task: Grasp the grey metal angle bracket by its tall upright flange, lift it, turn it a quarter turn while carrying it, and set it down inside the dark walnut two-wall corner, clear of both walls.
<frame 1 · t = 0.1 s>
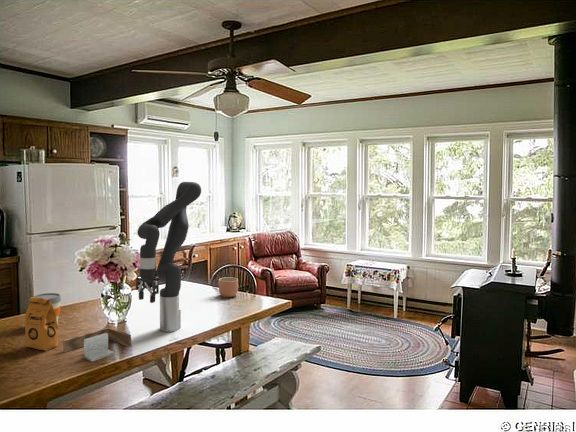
hand: (146, 301, 209), 17 cm above the table, tool pointing down, fingers open, 8 cm apart
reusable coffee cup: (47, 325, 223), on the table
coffee package: (42, 347, 195), on the table
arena: (94, 353, 189), on the table
mounting bracket: (88, 336, 210), on the table
angle bracket: (99, 356, 187), on the table
planter: (228, 296, 286), on the table
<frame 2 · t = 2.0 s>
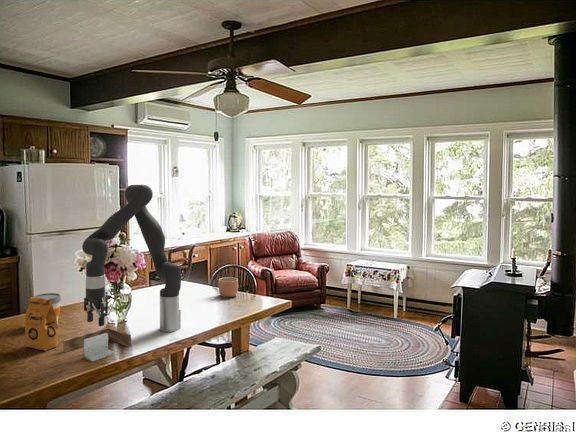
hand: (95, 323, 187), 13 cm above the table, tool pointing down, fingers open, 8 cm apart
nothing on the table moved.
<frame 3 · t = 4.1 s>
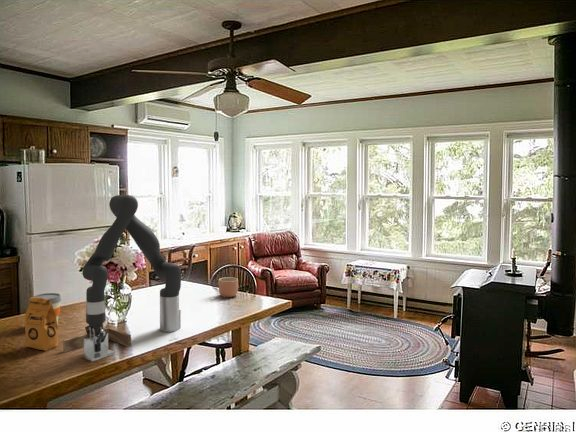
hand: (96, 351, 188), 2 cm above the table, tool pointing down, fingers closed on angle bracket
angle bracket: (99, 355, 187), on the table, touching gripper
everything else where it was.
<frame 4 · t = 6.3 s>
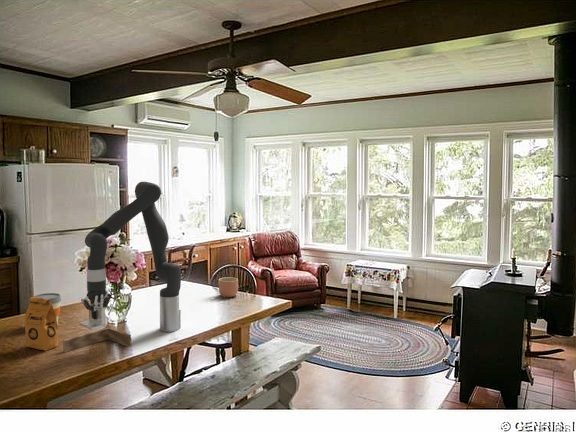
hand: (97, 318, 192), 14 cm above the table, tool pointing down, fingers closed on angle bracket
angle bracket: (92, 325, 191), point 11 cm above the table, touching gripper
everything else where it was.
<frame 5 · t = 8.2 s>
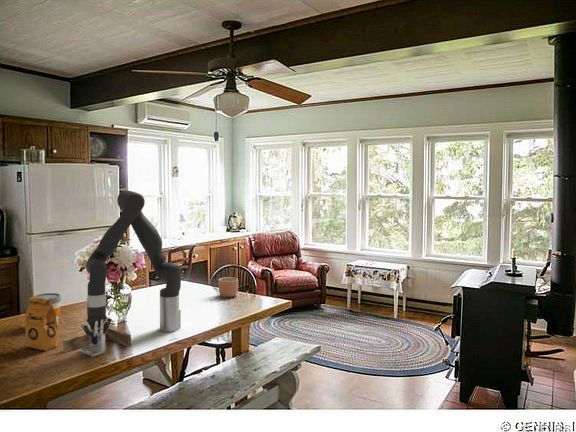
hand: (97, 343, 193), 3 cm above the table, tool pointing down, fingers closed on angle bracket
angle bracket: (92, 351, 191), on the table, touching gripper
everything else where it was.
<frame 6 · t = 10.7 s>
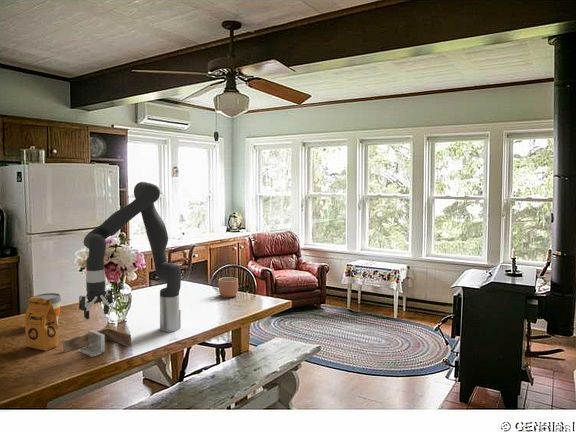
hand: (96, 316, 192), 15 cm above the table, tool pointing down, fingers open, 8 cm apart
angle bracket: (91, 352, 191), on the table
everything else where it was.
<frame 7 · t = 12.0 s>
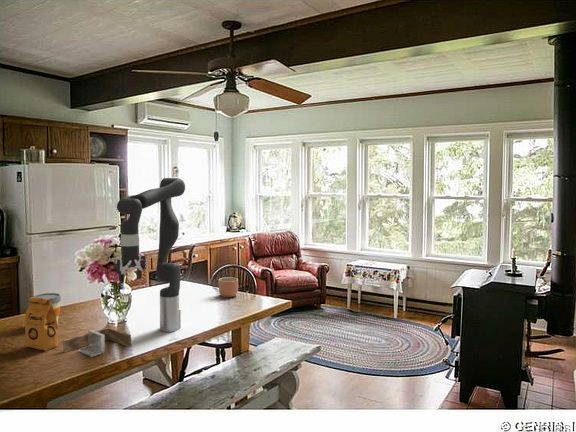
hand: (130, 280, 195), 30 cm above the table, tool pointing down, fingers open, 8 cm apart
nothing on the table moved.
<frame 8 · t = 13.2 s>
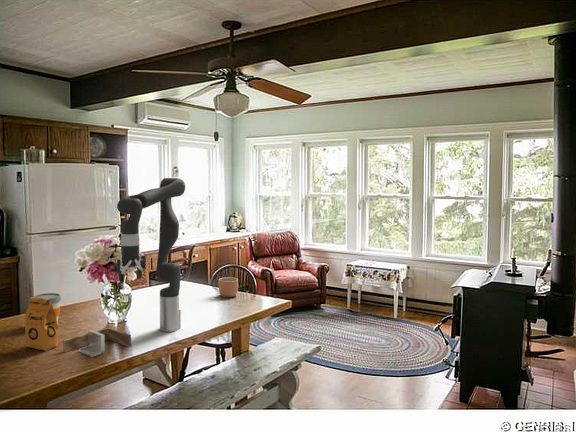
hand: (130, 280, 195), 30 cm above the table, tool pointing down, fingers open, 8 cm apart
nothing on the table moved.
at the end: angle bracket inside the target area (1.3 cm from its centre), on the table; angle bracket touching table; angle bracket moved 6.5 cm from its start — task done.
